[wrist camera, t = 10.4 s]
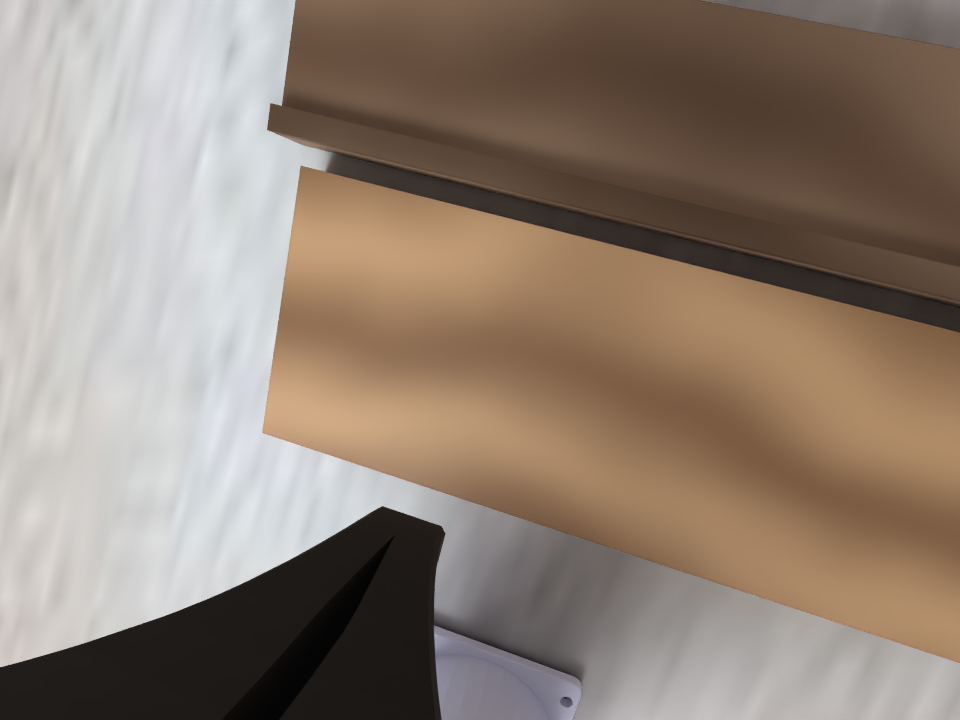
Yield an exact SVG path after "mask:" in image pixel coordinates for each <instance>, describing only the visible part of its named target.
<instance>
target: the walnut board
mask: <svg viewBox="0 0 960 720" xmlns="http://www.w3.org/2000/svg"><path fill="white" fill-rule="evenodd" d="M267 130H269V131H271V132H274V133H276V134H278V135H281V136H283V137H285V138H288V139H290V140H292V141H295V142H297V143H299V144H302V145H305V146H309V147H313V148H317V149H321V150H325V151H329V152H333V153H337V154H341V155H345V156H349V157H353V158H358V159H362V160H366V161H370V162H374V163H378V164H382V165H386V166H390V167H394V168H398V169H402V170H406V171H410V172H414V173H418V174H422V175H426V176H430V177H434V178H438V179H442V180H447V181H451V182H455V183H459V184H463V185H467V186H471V187H475V188H479V189H483V190H487V191H491V192H495V193H499V194H503V195H507V196H511V197H515V198H519V199H523V200H527V201H531V202H536V203H540V204H544V205H548V206H552V207H556V208H560V209H564V210H568V211H572V212H576V213H580V214H584V215H588V216H592V217H596V218H600V219H604V220H608V221H612V222H616V223H621V224H625V225H629V226H633V227H637V228H641V229H645V230H649V231H653V232H657V233H661V234H665V235H669V236H673V237H677V238H681V239H685V240H689V241H693V242H697V243H701V244H705V245H710V246H714V247H718V248H722V249H726V250H730V251H734V252H738V253H742V254H746V255H750V256H754V257H758V258H762V259H766V260H770V261H774V262H778V263H782V264H786V265H790V266H794V267H799V268H803V269H807V270H811V271H815V272H819V273H823V274H827V275H831V276H835V277H839V278H843V279H847V280H851V281H855V282H859V283H863V284H867V285H871V286H875V287H879V288H883V289H888V290H892V291H896V292H900V293H904V294H908V295H912V296H916V297H920V298H924V299H928V300H932V301H936V302H940V303H944V304H948V305H952V306H956V307H960V49H956V48H951V47H946V46H940V45H935V44H930V43H924V42H919V41H914V40H908V39H903V38H898V37H892V36H887V35H882V34H876V33H871V32H865V31H860V30H855V29H849V28H844V27H839V26H833V25H828V24H823V23H817V22H812V21H807V20H801V19H796V18H791V17H785V16H780V15H775V14H769V13H764V12H759V11H753V10H748V9H743V8H737V7H732V6H727V5H721V4H716V3H710V2H705V1H700V0H296V2H295V10H294V17H293V25H292V33H291V40H290V48H289V56H288V63H287V71H286V79H285V86H284V94H283V102H282V106H280V105H275V104H270V112H269V120H268V128H267Z"/></svg>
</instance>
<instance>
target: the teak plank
mask: <svg viewBox="0 0 960 720" xmlns="http://www.w3.org/2000/svg"><path fill="white" fill-rule="evenodd" d="M262 433H264V434H267V435H270V436H273V437H276V438H279V439H282V440H286V441H289V442H292V443H295V444H298V445H301V446H304V447H307V448H310V449H313V450H316V451H319V452H322V453H325V454H328V455H331V456H334V457H337V458H340V459H343V460H346V461H349V462H352V463H355V464H358V465H361V466H364V467H367V468H370V469H373V470H376V471H379V472H383V473H386V474H389V475H392V476H395V477H398V478H401V479H404V480H407V481H410V482H413V483H416V484H419V485H422V486H425V487H428V488H431V489H434V490H437V491H440V492H443V493H446V494H449V495H452V496H455V497H458V498H461V499H464V500H467V501H470V502H473V503H476V504H480V505H483V506H486V507H489V508H492V509H495V510H498V511H501V512H504V513H507V514H510V515H513V516H516V517H519V518H522V519H525V520H528V521H531V522H534V523H537V524H540V525H543V526H546V527H549V528H552V529H555V530H558V531H561V532H564V533H567V534H570V535H573V536H577V537H580V538H583V539H586V540H589V541H592V542H595V543H598V544H601V545H604V546H607V547H610V548H613V549H616V550H619V551H622V552H625V553H628V554H631V555H634V556H637V557H640V558H643V559H646V560H649V561H652V562H655V563H658V564H661V565H664V566H667V567H671V568H674V569H677V570H680V571H683V572H686V573H689V574H692V575H695V576H698V577H701V578H704V579H707V580H710V581H713V582H716V583H719V584H722V585H725V586H728V587H731V588H734V589H737V590H740V591H743V592H746V593H749V594H752V595H755V596H758V597H761V598H764V599H768V600H771V601H774V602H777V603H780V604H783V605H786V606H789V607H792V608H795V609H798V610H801V611H804V612H807V613H810V614H813V615H816V616H819V617H822V618H825V619H828V620H831V621H834V622H837V623H840V624H843V625H846V626H849V627H852V628H855V629H858V630H861V631H865V632H868V633H871V634H874V635H877V636H880V637H883V638H886V639H889V640H892V641H895V642H898V643H901V644H904V645H907V646H910V647H913V648H916V649H919V650H922V651H925V652H928V653H931V654H934V655H937V656H940V657H943V658H946V659H949V660H952V661H955V662H958V663H960V332H956V331H952V330H948V329H944V328H940V327H936V326H932V325H928V324H924V323H920V322H916V321H912V320H908V319H905V318H901V317H897V316H893V315H889V314H885V313H881V312H877V311H873V310H869V309H865V308H861V307H857V306H853V305H849V304H845V303H841V302H837V301H833V300H829V299H825V298H822V297H818V296H814V295H810V294H806V293H802V292H798V291H794V290H790V289H786V288H782V287H778V286H774V285H770V284H766V283H762V282H758V281H754V280H750V279H746V278H742V277H739V276H735V275H731V274H727V273H723V272H719V271H715V270H711V269H707V268H703V267H699V266H695V265H691V264H687V263H683V262H679V261H675V260H671V259H667V258H663V257H659V256H656V255H652V254H648V253H644V252H640V251H636V250H632V249H628V248H624V247H620V246H616V245H612V244H608V243H604V242H600V241H596V240H592V239H588V238H584V237H580V236H576V235H573V234H569V233H565V232H561V231H557V230H553V229H549V228H545V227H541V226H537V225H533V224H529V223H525V222H521V221H517V220H513V219H509V218H505V217H501V216H497V215H493V214H490V213H486V212H482V211H478V210H474V209H470V208H466V207H462V206H458V205H454V204H450V203H446V202H442V201H438V200H434V199H430V198H426V197H422V196H418V195H414V194H410V193H407V192H403V191H399V190H395V189H391V188H387V187H383V186H379V185H375V184H371V183H367V182H363V181H359V180H355V179H351V178H347V177H343V176H339V175H335V174H331V173H327V172H324V171H320V170H316V169H312V168H308V167H304V166H301V168H300V175H299V182H298V189H297V196H296V203H295V210H294V217H293V224H292V231H291V238H290V244H289V251H288V258H287V265H286V272H285V279H284V286H283V293H282V300H281V307H280V314H279V321H278V328H277V335H276V341H275V348H274V355H273V362H272V369H271V376H270V383H269V390H268V397H267V404H266V411H265V418H264V425H263V432H262Z"/></svg>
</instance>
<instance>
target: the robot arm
mask: <svg viewBox="0 0 960 720" xmlns="http://www.w3.org/2000/svg"><path fill="white" fill-rule="evenodd" d="M444 537H445V532H444V530H443V528H442V526H439V525H436V524H433V523H430V522H427V521H424V520H421V519H418V518H415V517H413V516H410V515H407V514H404V513H401V512H398V511H395V510H392V509H389V508H386V507H383V506H382V507H380V508H378V509H376V510H374V511H373V512H371V513H369V514H368V515H366V516H365V517H363V518H361V519H360V520H358V521H356V522H355V523H353V524H352V525H350V526H348V527H347V528H345V529H343V530H342V531H340V532H338V533H337V534H335V535H333V536H332V537H330V538H328V539H326V540H325V541H323V542H321V543H319V544H318V545H316V546H314V547H312V548H310V549H309V550H307V551H305V552H303V553H302V554H300V555H298V556H296V557H294V558H292V559H291V560H289V561H287V562H285V563H283V564H281V565H279V566H277V567H275V568H273V569H271V570H269V571H267V572H265V573H263V574H261V575H259V576H257V577H255V578H253V579H251V580H249V581H247V582H245V583H243V584H241V585H238V586H236V587H234V588H232V589H230V590H227V591H225V592H223V593H221V594H218V595H216V596H214V597H212V598H209V599H207V600H204V601H202V602H199V603H197V604H194V605H192V606H189V607H187V608H184V609H182V610H180V611H177V612H174V613H172V614H169V615H166V616H164V617H161V618H158V619H155V620H152V621H149V622H146V623H143V624H140V625H137V626H134V627H131V628H128V629H125V630H122V631H120V632H117V633H114V634H111V635H108V636H105V637H102V638H99V639H96V640H93V641H90V642H87V643H84V644H81V645H78V646H74V647H71V648H68V649H64V650H61V651H57V652H54V653H51V654H47V655H44V656H40V657H37V658H33V659H30V660H26V661H23V662H19V663H15V664H12V665H8V666H4V667H0V720H572V719H573V717H574V714H575V712H576V709H577V707H578V704H579V701H580V699H581V696H582V685H581V682H580V681H579V680H578V679H577V678H575V677H574V676H571V675H568V674H566V673H563V672H560V671H557V670H555V669H552V668H549V667H547V666H544V665H541V664H538V663H536V662H533V661H530V660H527V659H525V658H522V657H519V656H516V655H514V654H511V653H508V652H506V651H503V650H500V649H497V648H495V647H492V646H489V645H486V644H484V643H481V642H478V641H475V640H473V639H470V638H467V637H465V636H462V635H459V634H456V633H454V632H451V631H448V630H445V629H443V628H440V627H437V626H434V591H435V575H436V567H437V563H438V559H439V556H440V552H441V548H442V544H443V541H444ZM563 697H569V699H565V698H563Z"/></svg>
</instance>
